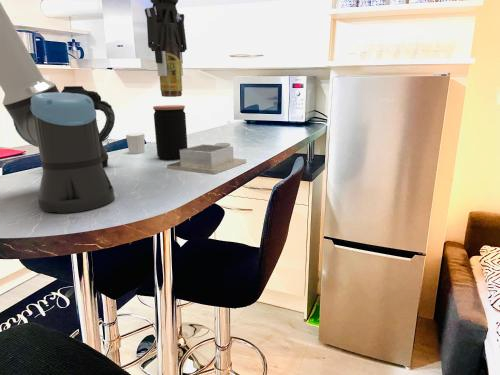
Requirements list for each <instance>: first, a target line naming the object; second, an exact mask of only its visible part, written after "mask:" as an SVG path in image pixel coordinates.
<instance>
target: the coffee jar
mask: <svg viewBox="0 0 500 375" xmlns="http://www.w3.org/2000/svg"><path fill="white" fill-rule="evenodd" d="M185 107H186V106H185V105H178V104H176V105H175V104H173V105H168V104H167V105H155V106H154V105H153V107H152V109H153V110H154V113H153V121H154V134H155V144H156V156H157V157H158V159H159V160H163V161H178V160H180V150H181V149H185V148H188V137H187V136H188V134H187V132H188V131H187V120H186V119H187V118H186V112H185V111H184V110H185V109H186V108H185Z"/></svg>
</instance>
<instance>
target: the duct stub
mask: <svg viewBox="0 0 500 375" xmlns="http://www.w3.org/2000/svg"><path fill="white" fill-rule="evenodd" d="M243 163H244V164H246V163H247V159H243V158H234V146H231V145H230V146H219V145H215V144H206V143H205V144H204V143H203V144H199V145H193V146H190V147H187V148H185V149H181V150H180V161H177V162H173V163H170V164H166V169H171V170H178V171H185V172H194V173H202V174H208V175H210V174H211V175H216V174H218V173H221V172H224V171H227V170H230V169H232V168H235V167H238V166H240V164H241V165H243Z"/></svg>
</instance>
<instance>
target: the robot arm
mask: <svg viewBox="0 0 500 375" xmlns="http://www.w3.org/2000/svg"><path fill="white" fill-rule="evenodd" d="M150 3H152V6H151V7H145V8H144V12H145V17H146V26H147V28H146V30H147V46H148V47H147V48H148V49H150V50H151V52H154V57H155V58H154V59H155V64H156V68H157V77H160V76H167V67H166V56H165V51H162V50H163V42H164V34H165V27H166V26H167V23H174V24H175V28H176V29H175V38H176V44H177V45H178V47H179V49H180V60H181V75H182V76H184V72H183V71H184V70H183V53H185V52H186V51H187V50H188V48H187V39H186V32H185V30H186V29H185V15H184V13H179V12H178V9H177V7H176V6H177V4H178V3H179V0H150ZM0 88H1V89H2V91H3V93H4V97H3V100H2V105H3V107H4V108H5V109H6V111H7V113H8V114H9V116H10V117H11V119H12V122H13V126H14V128H15V132H17V134H18V135H19V136H20V138H21V139H22V140H23V141H25V142H27V143H28V144H29V145H31V146H34V147H37V148H38V151H39V157H40V161H41V169H42V175H41V180H40V185H39V191H38V197H37V200H38V206H39V210H41V211H43V212H45V211H47V212H46V213H51V212H57V213H56V214H66V213H67V214H69V212H70V213H79V212H83V211H84V212H85V211H89V210H94V209H97V208H101V207H103V206H106V205H108V204H110V203H112V202H113V201H114V200H115V198H116V197H115V190H114V187H113V185H112V183H111V181H110V179H109V177H108V174H107V172H106V171H105V168H103V166H102V161H101V153H100V145H99V137H98V130H99V128H98V129H97V126H98V122H97V110H95V108H94V103H93V100H92V99H91V98H90V97H89V96H86V95H83V94H77V93H63V92H62V91H60V90H59V89H58V87H57V85H56V83H54V82H52V81H50V80H48V79H46V78H44V76H43V74H42V73H41V71H40V69H39V68H38V66H37V64H36V62H35V61H34V59H33V57H32V56H31V53H30V52H29V50H28V47H26V45H25V42H24V41H23V39H22V38H21V36H20V35H19V33H18V30H17V29H16V28H15V25H14V23H13V22H12V20H11V18H10V17H9V15H8V14H7V12H6V10H5V8H4V6H3V5H2V2H0Z"/></svg>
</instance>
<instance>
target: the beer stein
mask: <svg viewBox="0 0 500 375" xmlns="http://www.w3.org/2000/svg"><path fill="white" fill-rule="evenodd" d="M61 92H63V93H77V94H83V95H86V96H89V97H90V98H91V99H92V100H93V103H94V108H95V111H100V112H103V114H104V116H105V123H104V126H103V128H102V129H101V130H99V127H98V125H97V129H98V137H99V145H100V153H101V161H102V166H103V168H104V169H105V168H107V167H108V161H109V154H108V153H107V151H106V149H105V147H104V145H103V142H104V141H105V140H106V139H107V138H108V136H110V134H111V132H112V130H113V128H114V126H115V123H116V122H115V119H116V117H115V116H116V115H115V112H114V109H113V107H112V105H111V104H110V103H108V101H105V100H102V97H101V95H100V94H99V92H97V91H93V90H92V91H91V90H87V89H86V88H84V87H83V85H81V86H80V85H76V86H75V85H73V86H72V85H71V86H65V85H64V86H63V89H62V90H61Z"/></svg>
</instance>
